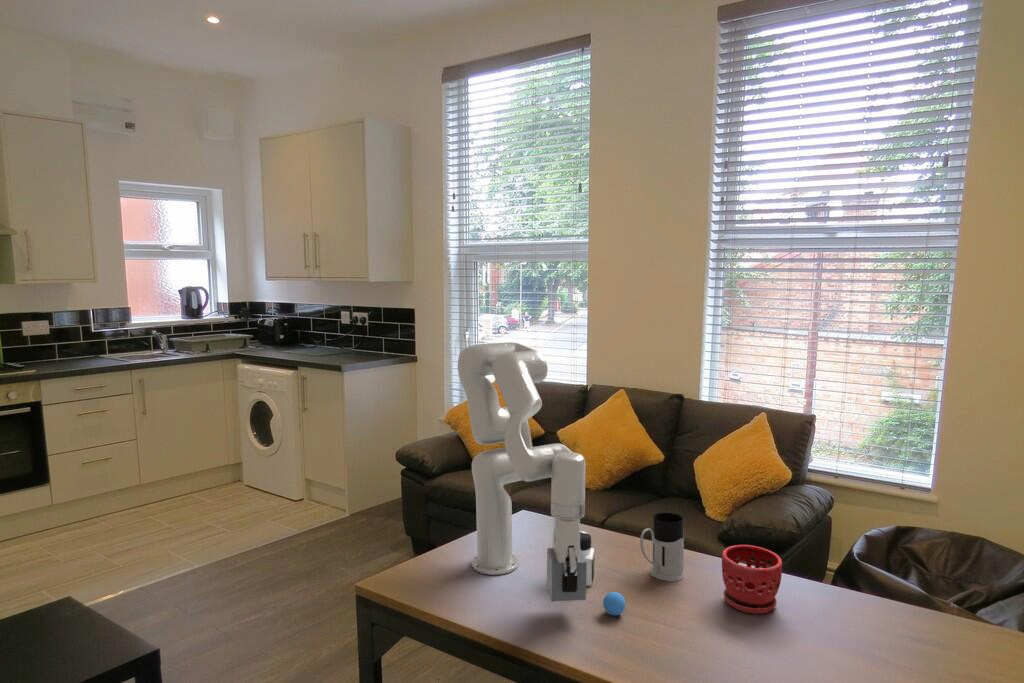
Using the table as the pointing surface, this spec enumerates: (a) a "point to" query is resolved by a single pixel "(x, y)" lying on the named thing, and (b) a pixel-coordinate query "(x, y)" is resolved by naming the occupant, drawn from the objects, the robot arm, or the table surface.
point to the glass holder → (667, 546)
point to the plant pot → (751, 578)
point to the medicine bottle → (587, 556)
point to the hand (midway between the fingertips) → (566, 581)
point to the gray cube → (556, 575)
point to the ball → (614, 603)
